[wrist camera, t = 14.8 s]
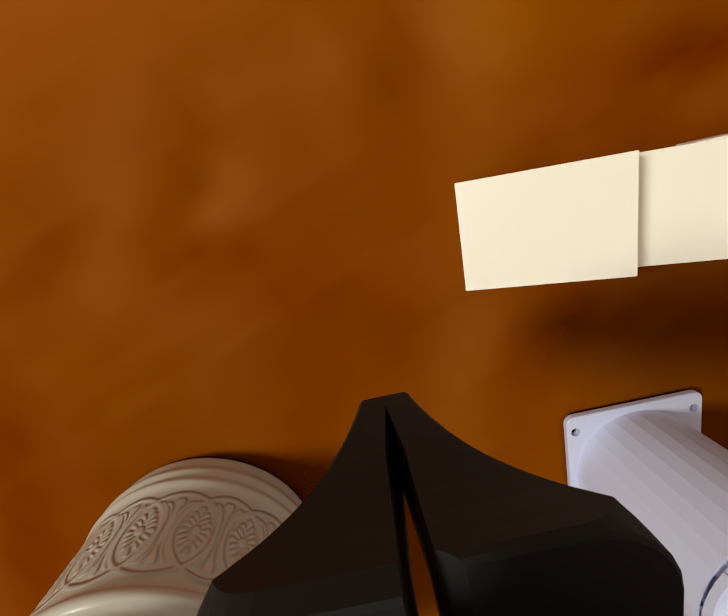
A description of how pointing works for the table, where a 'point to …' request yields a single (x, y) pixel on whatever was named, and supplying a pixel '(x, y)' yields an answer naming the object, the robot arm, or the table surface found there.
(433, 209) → the table surface
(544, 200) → the tile
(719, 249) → the tile
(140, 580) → the jar
